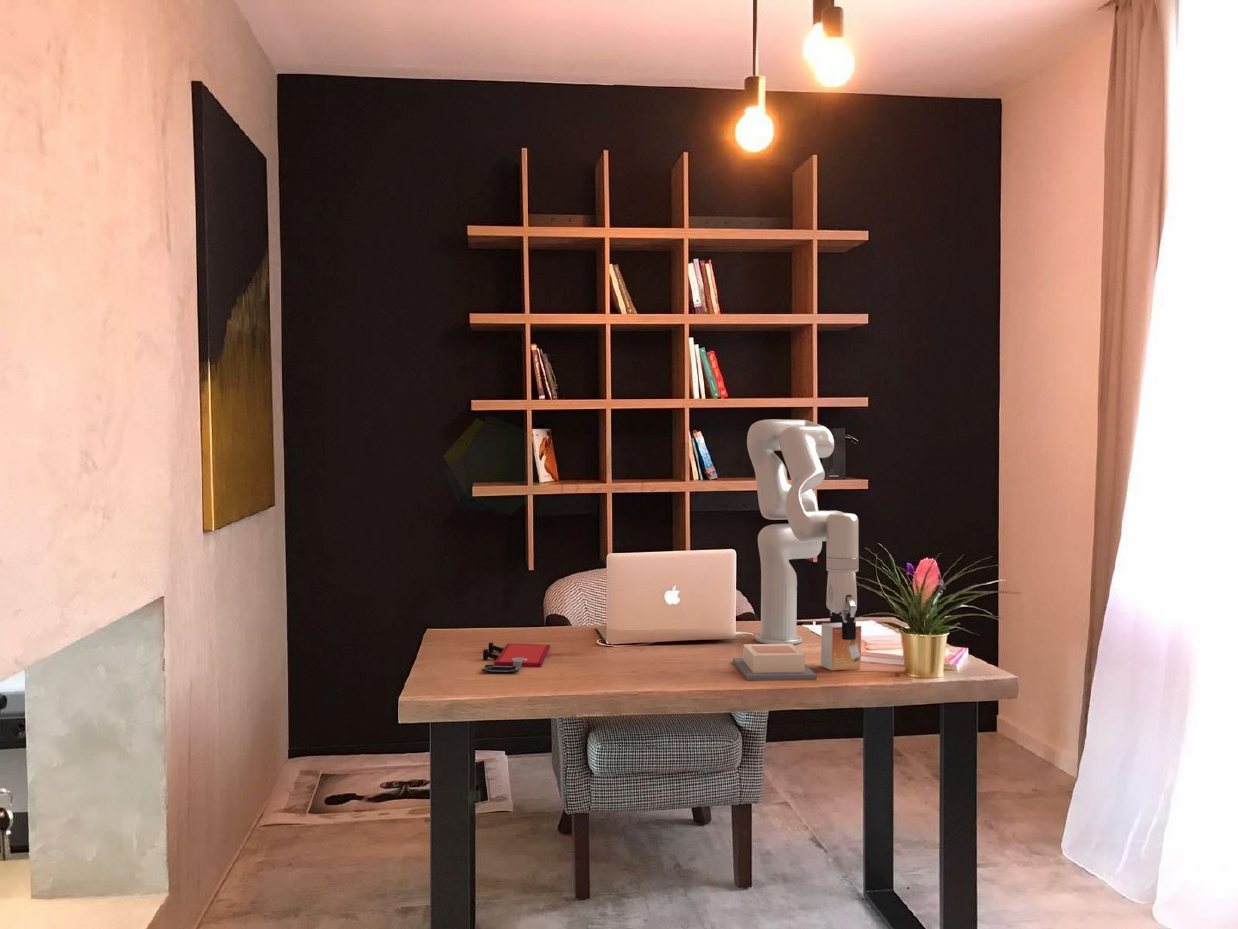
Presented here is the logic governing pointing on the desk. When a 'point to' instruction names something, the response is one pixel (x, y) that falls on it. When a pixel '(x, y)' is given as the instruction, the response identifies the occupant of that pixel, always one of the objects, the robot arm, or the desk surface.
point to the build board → (772, 675)
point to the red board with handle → (515, 656)
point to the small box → (839, 648)
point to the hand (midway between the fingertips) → (842, 635)
